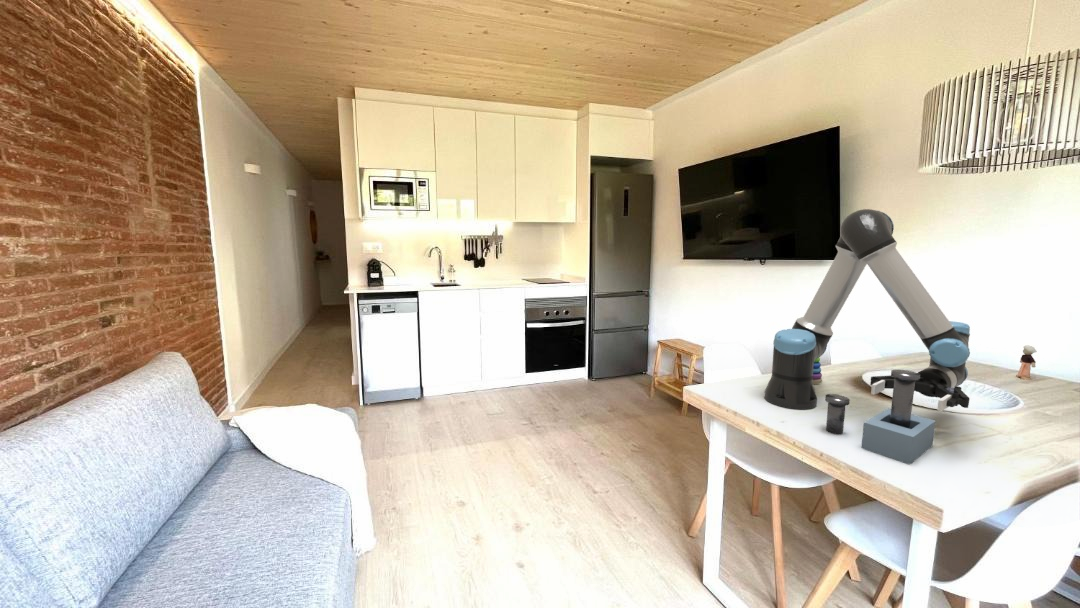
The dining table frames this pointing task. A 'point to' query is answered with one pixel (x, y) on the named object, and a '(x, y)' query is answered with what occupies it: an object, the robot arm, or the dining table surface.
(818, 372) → the stacking toy
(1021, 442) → the dining table surface
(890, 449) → the guide block
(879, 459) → the dining table surface
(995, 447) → the dining table surface
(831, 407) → the short pin
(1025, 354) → the grandmother figurine
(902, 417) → the tall pin
